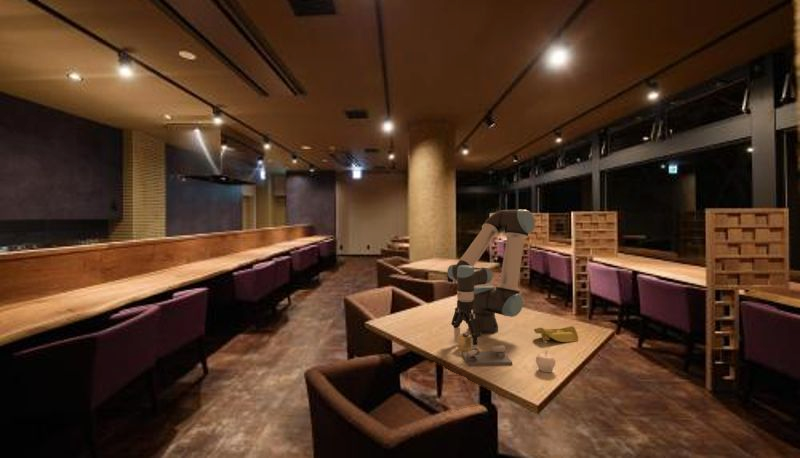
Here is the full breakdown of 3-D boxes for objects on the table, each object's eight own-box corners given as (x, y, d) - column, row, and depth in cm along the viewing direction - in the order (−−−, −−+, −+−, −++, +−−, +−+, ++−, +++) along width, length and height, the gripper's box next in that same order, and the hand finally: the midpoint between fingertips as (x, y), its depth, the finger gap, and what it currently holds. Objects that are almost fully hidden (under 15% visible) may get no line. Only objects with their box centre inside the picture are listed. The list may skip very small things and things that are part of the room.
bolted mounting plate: (502, 353, 159) (502, 341, 159) (512, 364, 147) (512, 351, 147) (461, 354, 158) (461, 342, 158) (468, 366, 146) (468, 353, 146)
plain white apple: (558, 374, 139) (559, 353, 138) (540, 374, 138) (541, 354, 138) (549, 366, 146) (550, 346, 145) (532, 367, 145) (532, 347, 145)
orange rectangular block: (467, 347, 168) (467, 332, 167) (473, 350, 163) (473, 335, 163) (458, 348, 166) (458, 333, 166) (463, 352, 161) (463, 336, 161)
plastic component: (561, 328, 186) (575, 325, 178) (565, 343, 183) (580, 341, 175) (529, 330, 179) (543, 326, 171) (533, 345, 177) (547, 343, 168)
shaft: (473, 356, 153) (473, 347, 153) (480, 359, 150) (480, 349, 150) (465, 359, 150) (465, 350, 150) (472, 362, 147) (472, 352, 147)
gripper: (444, 295, 174) (444, 338, 174) (474, 307, 151) (474, 357, 151) (457, 293, 177) (457, 336, 177) (489, 305, 154) (488, 354, 154)
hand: (465, 346), depth 164 cm, fingers open, 13 cm apart
